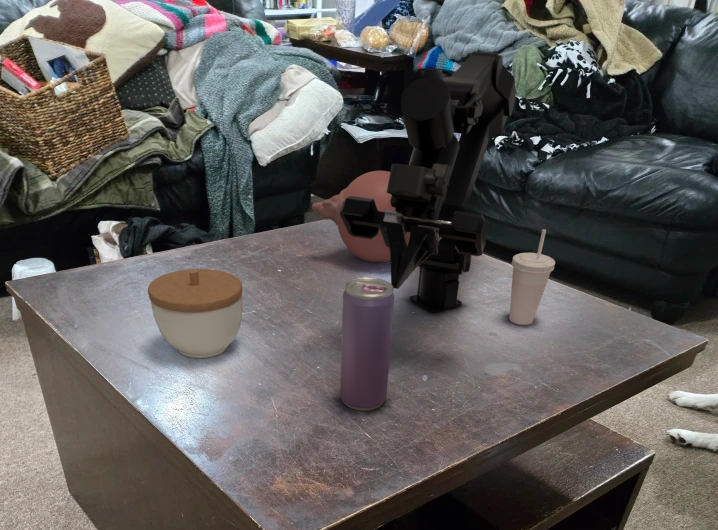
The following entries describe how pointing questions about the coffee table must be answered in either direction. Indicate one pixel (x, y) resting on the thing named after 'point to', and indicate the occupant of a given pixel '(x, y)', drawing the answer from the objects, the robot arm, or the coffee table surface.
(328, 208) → the balloon
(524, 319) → the smoothie
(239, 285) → the lidded bowl
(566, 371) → the coffee table surface
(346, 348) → the beverage can
